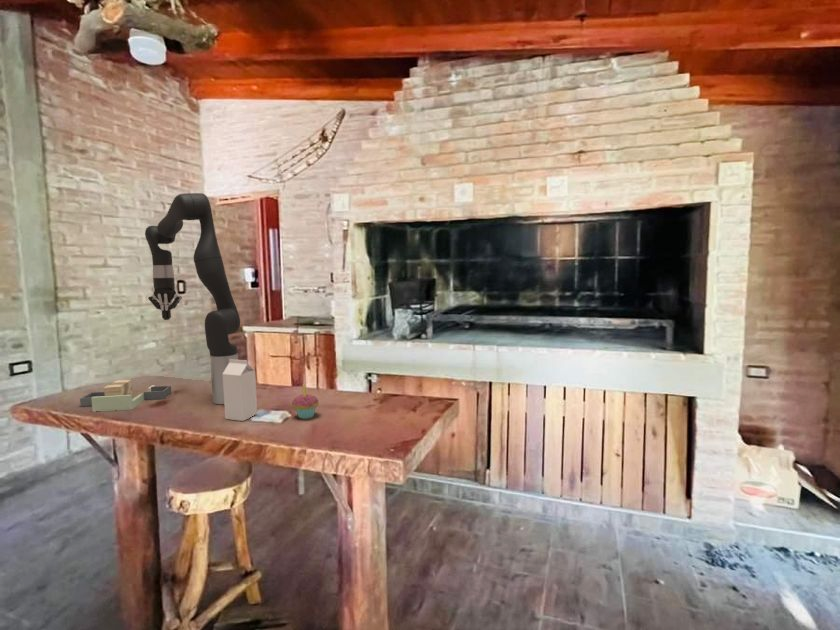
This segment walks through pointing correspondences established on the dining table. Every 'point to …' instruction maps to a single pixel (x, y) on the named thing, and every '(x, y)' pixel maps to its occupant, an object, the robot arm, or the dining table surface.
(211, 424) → the dining table surface
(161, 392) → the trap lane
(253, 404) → the milk carton
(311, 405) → the cupcake
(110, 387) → the beech block
